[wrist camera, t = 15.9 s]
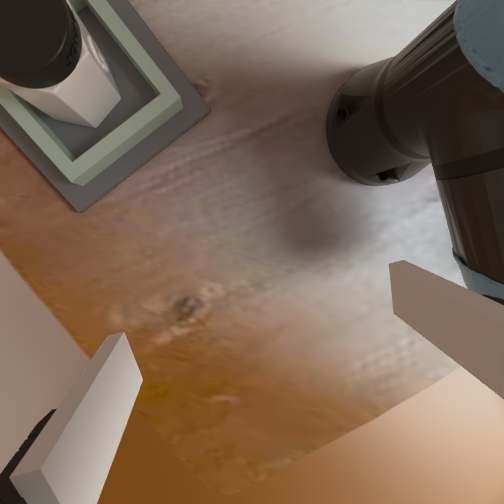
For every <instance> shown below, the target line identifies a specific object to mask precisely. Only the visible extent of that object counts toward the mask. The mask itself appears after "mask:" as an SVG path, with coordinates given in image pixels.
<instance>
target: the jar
mask: <svg viewBox="0 0 504 504" xmlns="http://www.w3.org/2000/svg"><path fill="white" fill-rule="evenodd" d="M0 84H2V85H3V86H5V87H6V88H8V89H9V90H11V91H12V92H14V93H15V94H17V95H18V96H20V97H21V98H23V99H25V100H26V101H28V102H29V103H31V104H32V105H34V106H35V107H37V108H38V109H40V110H41V111H43V112H44V113H46V114H47V115H49V116H50V117H52V118H53V119H55V120H60V121H64V122H69V123H73V124H78V125H83V126H87V127H92V128H97V127H98V126H99V125H100V123H101V122H102V121H103V120H104V119H105V118H106V116H107V115H108V114H109V113H110V112H111V110H112V109H113V108H114V107H115V106H116V105H117V103H118V102H119V101H120V100H121V96H120V94H119V91H118V89H117V86H116V83H115V81H114V78H113V76H112V73H111V71H110V68H109V66H108V63H107V61H106V59H105V57H104V55H103V54H102V52H101V51H100V49H99V48H98V46H97V45H96V43H95V41H94V40H93V38H92V37H91V35H90V34H89V32H88V30H87V29H86V27H85V26H84V24H83V23H82V21H81V20H80V18H79V16H78V15H77V13H76V12H75V10H74V9H73V7H72V6H71V4H70V2H69V1H68V0H0Z"/></svg>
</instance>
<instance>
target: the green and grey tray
mask: <svg viewBox="0 0 504 504" xmlns="http://www.w3.org/2000/svg"><path fill="white" fill-rule="evenodd" d="M68 1H69V2H70V4H71V6H72V7H73V9H74V10H75V12H76V13H77V15H78V16H79V18H80V20H81V21H82V23H83V24H84V26H85V27H86V29H87V30H88V32H89V34H90V35H91V37H92V38H93V40H94V41H95V43H96V45H97V46H98V48H99V49H100V51H101V52H102V54H103V55H104V57H105V59H106V61H107V63H108V66H109V68H110V71H111V73H112V76H113V78H114V81H115V83H116V86H117V89H118V91H119V94H120V96H121V100H120V101H119V102H118V103H117V105H116V106H115V107H114V108H113V109H112V110H111V112H110V113H109V114H108V115H107V116H106V118H105V119H104V120H103V121H102V122H101V123H100V125H99V126H98V127H97V128H92V127H87V126H83V125H78V124H73V123H69V122H64V121H60V120H55V119H53V118H52V117H50V116H49V115H47V114H46V113H44V112H43V111H41V110H40V109H38V108H37V107H35V106H34V105H32V104H31V103H29V102H28V101H26V100H25V99H23V98H21V97H20V96H18V95H17V94H15V93H14V92H12V91H11V90H9V89H8V88H6V87H5V86H3V85H2V84H0V127H1V128H2V129H3V130H4V132H5V133H6V134H7V135H8V136H9V137H10V138H11V139H12V140H13V141H14V142H15V144H16V145H17V146H18V147H19V148H20V149H21V150H22V151H23V152H24V153H25V155H26V156H27V157H28V158H29V159H30V160H31V161H32V162H33V163H34V164H35V166H36V167H37V168H38V169H39V170H40V171H41V172H42V173H43V174H44V175H45V177H46V178H47V179H48V180H49V181H50V182H51V183H52V184H53V185H54V186H55V187H56V189H57V190H58V191H59V192H60V193H61V194H62V195H63V196H64V197H65V198H66V200H67V201H68V202H69V203H70V204H71V205H72V206H73V207H74V208H75V209H76V211H77V212H78V213H83V212H84V211H86V210H87V209H88V208H89V207H91V206H92V205H93V204H94V203H96V202H97V201H98V200H100V199H101V198H102V197H103V196H105V195H106V194H107V193H108V192H110V191H111V190H112V189H114V188H115V187H116V186H117V185H119V184H120V183H121V182H122V181H124V180H125V179H126V178H128V177H129V176H130V175H131V174H133V173H134V172H135V171H136V170H138V169H139V168H140V167H142V166H143V165H144V164H145V163H147V162H148V161H149V160H150V159H152V158H153V157H154V156H156V155H157V154H158V153H159V152H161V151H162V150H163V149H164V148H166V147H167V146H168V145H170V144H171V143H172V142H173V141H175V140H176V139H177V138H179V137H180V136H181V135H182V134H184V133H185V132H186V131H187V130H189V129H190V128H191V127H193V126H194V125H195V124H196V123H198V122H199V121H200V120H201V119H203V118H204V117H205V116H207V115H208V114H209V113H210V108H209V107H208V105H207V104H206V103H205V101H204V100H203V99H202V97H201V96H200V95H199V94H198V92H197V91H196V90H195V88H194V87H193V86H192V84H191V83H190V82H189V80H188V79H187V78H186V76H185V75H184V74H183V72H182V71H181V70H180V68H179V67H178V66H177V64H176V63H175V62H174V61H173V59H172V58H171V57H170V55H169V54H168V53H167V51H166V50H165V49H164V47H163V46H162V45H161V43H160V42H159V41H158V39H157V38H156V37H155V35H154V34H153V33H152V32H151V30H150V29H149V28H148V26H147V25H146V24H145V22H144V21H143V20H142V18H141V17H140V16H139V14H138V13H137V12H136V10H135V9H134V8H133V6H132V5H131V4H130V2H129V1H128V0H68Z"/></svg>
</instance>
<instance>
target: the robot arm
mask: <svg viewBox="0 0 504 504" xmlns="http://www.w3.org/2000/svg"><path fill="white" fill-rule="evenodd" d="M326 131H327V140H328V144H329V148H330V150H331V153H332V155H333V157H334V159H335V161H336V162H337V164H338V165H339V166H340V168H341V169H342V170H343V171H344V172H345V173H346V174H347V175H349V176H350V177H351V178H353V179H355V180H357V181H359V182H361V183H364V184H368V185H373V186H383V185H389V184H394V183H398V182H401V181H404V180H406V179H408V178H411V177H412V176H414V175H416V174H417V173H418V172H420V171H421V170H422V169H423V168H425V167H426V166H427V165H429V164H430V163H431V162H432V166H433V170H434V173H435V177H436V183H437V186H438V190H439V194H440V198H441V201H442V205H443V209H444V213H445V216H446V220H447V224H448V228H449V232H450V236H451V240H452V244H453V248H452V251H453V255H454V258H455V260H456V262H457V263H458V264H459V267H460V270H461V273H462V276H463V279H464V282H465V284H466V286H467V288H468V289H466V288H464V287H462V286H460V285H458V284H455V283H453V282H451V281H449V280H447V279H444V278H442V277H440V276H438V275H435V274H433V273H431V272H429V271H427V270H424V269H422V268H420V267H418V266H416V265H413V264H411V263H409V262H407V261H404V260H402V261H398V262H394V263H390V264H389V270H390V280H391V291H392V301H393V311H394V314H395V315H397V316H398V317H399V318H400V319H402V320H403V321H404V322H406V323H407V324H408V325H409V326H411V327H412V328H413V329H414V330H416V331H417V332H418V333H420V334H421V335H422V336H423V337H425V338H426V339H427V340H429V341H430V342H431V343H432V344H434V345H435V346H436V347H438V348H439V349H440V350H441V351H443V352H444V353H445V354H447V355H448V356H449V357H450V358H452V359H453V360H454V361H456V362H457V363H458V364H459V365H461V366H462V367H463V368H465V369H466V370H467V371H468V372H470V373H471V374H472V375H473V376H475V377H476V378H477V379H479V380H480V381H481V382H482V383H484V384H485V385H486V386H488V387H489V388H490V389H491V390H493V391H494V392H495V393H497V394H498V395H499V396H500V397H502V398H503V399H504V0H456V1H455V2H454V3H453V4H452V5H451V6H450V7H449V8H448V9H446V10H445V11H444V12H443V13H442V14H441V15H440V16H439V17H438V18H437V19H436V20H434V21H433V22H432V23H431V24H430V25H429V26H428V27H427V28H426V29H425V30H424V31H422V32H421V33H420V34H419V35H418V36H417V37H416V38H415V39H414V40H413V41H412V42H411V43H409V44H408V45H407V46H406V47H405V48H404V49H403V50H402V51H401V52H400V53H399V54H398V55H396V56H394V57H391V58H388V59H385V60H382V61H379V62H376V63H373V64H371V65H368V66H366V67H364V68H363V69H361V70H359V71H358V72H357V73H355V74H354V75H353V76H352V77H351V78H350V79H349V80H348V81H347V82H346V83H345V84H344V85H343V86H342V87H341V88H340V89H339V91H338V92H337V94H336V95H335V97H334V99H333V101H332V103H331V105H330V108H329V112H328V116H327V125H326ZM142 381H143V379H142V376H141V374H140V371H139V369H138V366H137V363H136V361H135V358H134V356H133V353H132V351H131V348H130V345H129V343H128V340H127V338H126V335H125V333H124V332H120V333H116V334H112V335H108V336H107V338H106V339H105V340H104V342H103V343H102V345H101V346H100V348H99V349H98V351H97V352H96V353H95V355H94V356H93V358H92V359H91V361H90V362H89V363H88V365H87V366H86V368H85V369H84V371H83V372H82V374H81V375H80V376H79V378H78V379H77V381H76V382H75V384H74V385H73V386H72V388H71V389H70V391H69V392H68V394H67V395H66V397H65V398H64V400H63V401H62V402H61V404H60V405H59V407H58V408H57V409H54V410H51V411H50V412H49V413H48V414H47V415H46V416H45V417H44V418H43V419H42V420H41V421H40V422H38V424H37V425H36V426H35V428H34V429H33V430H32V432H31V433H30V435H29V436H28V439H27V440H25V441H24V443H23V444H22V445H21V447H20V448H19V451H17V452H16V453H15V455H14V456H13V458H12V459H11V460H10V462H9V463H8V464H7V466H6V467H5V468H4V470H3V471H2V473H1V474H0V504H97V502H98V499H99V496H100V493H101V491H102V488H103V485H104V482H105V480H106V477H107V474H108V472H109V469H110V466H111V464H112V461H113V458H114V456H115V453H116V450H117V448H118V445H119V442H120V440H121V437H122V434H123V431H124V429H125V426H126V424H127V420H128V418H129V416H130V413H131V410H132V408H133V405H134V402H135V399H136V397H137V394H138V391H139V389H140V386H141V383H142Z"/></svg>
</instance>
